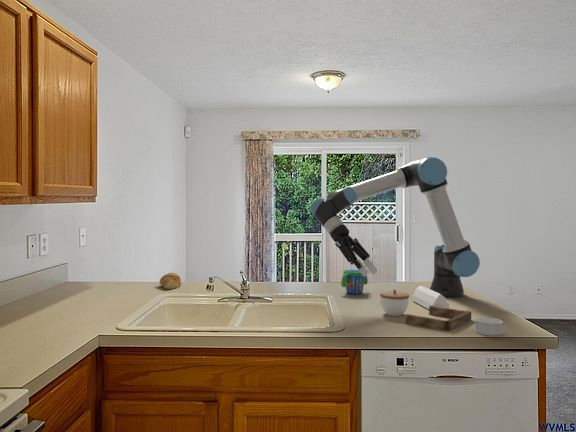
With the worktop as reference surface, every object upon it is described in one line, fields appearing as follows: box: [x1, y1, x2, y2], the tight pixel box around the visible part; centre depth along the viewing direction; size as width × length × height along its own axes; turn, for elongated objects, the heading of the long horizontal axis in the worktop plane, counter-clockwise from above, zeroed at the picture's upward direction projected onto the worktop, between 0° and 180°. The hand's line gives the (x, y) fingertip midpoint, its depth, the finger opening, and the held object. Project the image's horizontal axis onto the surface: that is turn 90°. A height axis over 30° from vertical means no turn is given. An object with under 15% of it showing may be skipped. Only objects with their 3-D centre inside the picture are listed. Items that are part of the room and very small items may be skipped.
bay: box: [405, 306, 472, 332], centre depth 179 cm, size 16×21×3 cm
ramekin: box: [474, 316, 504, 337], centre depth 165 cm, size 9×9×4 cm
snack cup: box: [340, 269, 369, 295], centre depth 233 cm, size 16×10×10 cm
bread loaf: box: [159, 272, 182, 290], centre depth 244 cm, size 21×10×8 cm, turn 7°
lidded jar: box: [379, 288, 410, 317], centre depth 191 cm, size 11×11×9 cm
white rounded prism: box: [411, 284, 450, 310], centre depth 206 cm, size 7×7×24 cm
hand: (370, 273), depth 197 cm, fingers open, 6 cm apart
